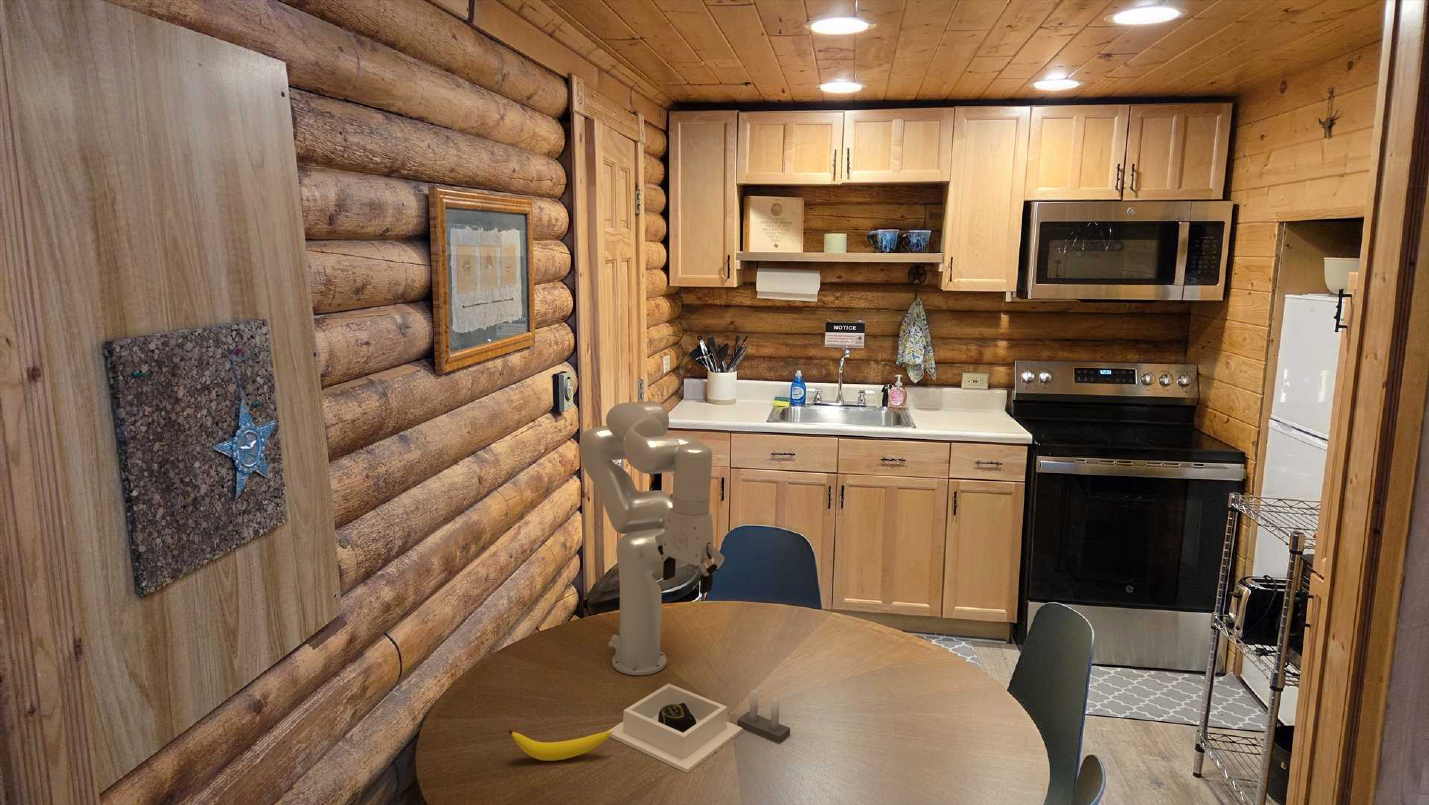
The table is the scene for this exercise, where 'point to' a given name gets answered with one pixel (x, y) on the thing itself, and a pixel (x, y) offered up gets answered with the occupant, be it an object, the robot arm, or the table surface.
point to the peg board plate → (764, 721)
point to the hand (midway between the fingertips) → (687, 585)
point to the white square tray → (670, 743)
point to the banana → (559, 746)
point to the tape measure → (677, 717)
